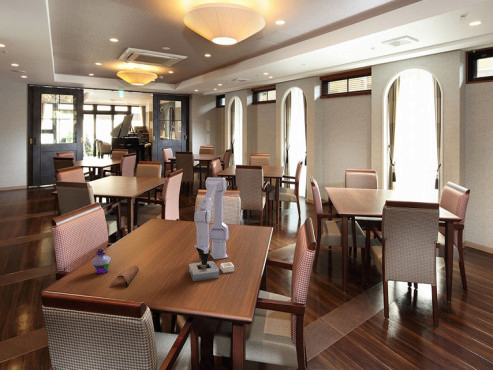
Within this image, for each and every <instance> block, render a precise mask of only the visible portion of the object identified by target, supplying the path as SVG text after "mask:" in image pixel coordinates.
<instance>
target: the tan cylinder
mask: <svg viewBox="0 0 493 370" xmlns="http://www.w3.org/2000/svg"><path fill="white" fill-rule="evenodd" d="M200 261H201V258H199V262H200ZM201 269H207V265H202V263H201Z"/></svg>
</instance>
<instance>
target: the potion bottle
mask: <svg viewBox="0 0 493 370" xmlns="http://www.w3.org/2000/svg"><path fill="white" fill-rule="evenodd" d="M96 250H97V251H96V252H95V255H96V256H97V257H93V258H92V259H91V263H92V266H93V267H94V269H95V273H97V274H96V275H98V274H102V275H105V274H104V273H106V274H108V273H109V267H110V264H111V259H112V258H111V256H108V255H106V254H107V251H106V249H105V248H104V247H99V248H97V249H96ZM107 272H108V273H107Z"/></svg>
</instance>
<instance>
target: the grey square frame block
mask: <svg viewBox="0 0 493 370" xmlns="http://www.w3.org/2000/svg"><path fill="white" fill-rule="evenodd" d="M200 269H201V262H200V261H199V262H192V263H188V270H189V271H188V272H189V274H190V277H191V279H192V281H193V282H199V281H200V282H201V281H206V280H214V279H220V269H219V267H218V266H217V264H216V263H215V261H214V260H210V261H207V269H201V270H200Z"/></svg>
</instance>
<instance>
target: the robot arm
mask: <svg viewBox="0 0 493 370" xmlns="http://www.w3.org/2000/svg"><path fill="white" fill-rule="evenodd" d="M205 188H206V193H205V196H204V198H201V202H200V204H199V207H198V210H196V211H195V212H194V216H193V220H194V222H195V223H194V226H195V227H196V228H195V229H196V244H194V248H195V249H196V251H197V253H198V257H199V259H200V258H201V261H200V260H199V262H201V263H202V265H207V262H208V259H209V257H210V256H211V257H212V258H213V260H220V259H228V258H229V255H228V254H227V241H228V240H229V237H230V231H229V226H228V225H227V224H226V223H225V222H224V194H225V193H226V192H227V180H226V178H225V177H207V178H206V180H205ZM212 208H213V210H214V211H213V213H214V218H213V219H214V220H213V221H214V223H212V224H211V225H209V224H210V221H211V217H212V216H211V215H212ZM210 240H211V245H210ZM210 246H211V250H210Z"/></svg>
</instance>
